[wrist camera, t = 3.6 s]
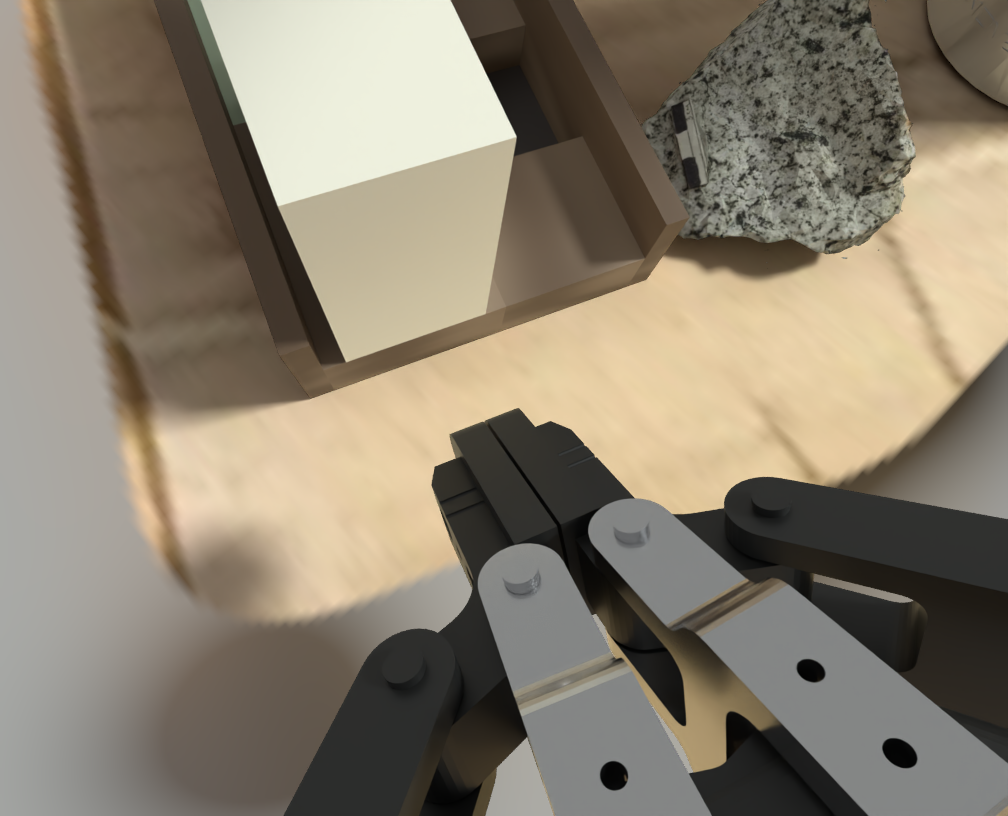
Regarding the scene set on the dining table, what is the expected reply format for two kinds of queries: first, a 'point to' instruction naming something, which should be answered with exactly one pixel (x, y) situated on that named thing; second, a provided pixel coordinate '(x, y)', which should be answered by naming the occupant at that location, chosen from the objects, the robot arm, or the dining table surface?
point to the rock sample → (789, 130)
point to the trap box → (529, 201)
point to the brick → (375, 155)
